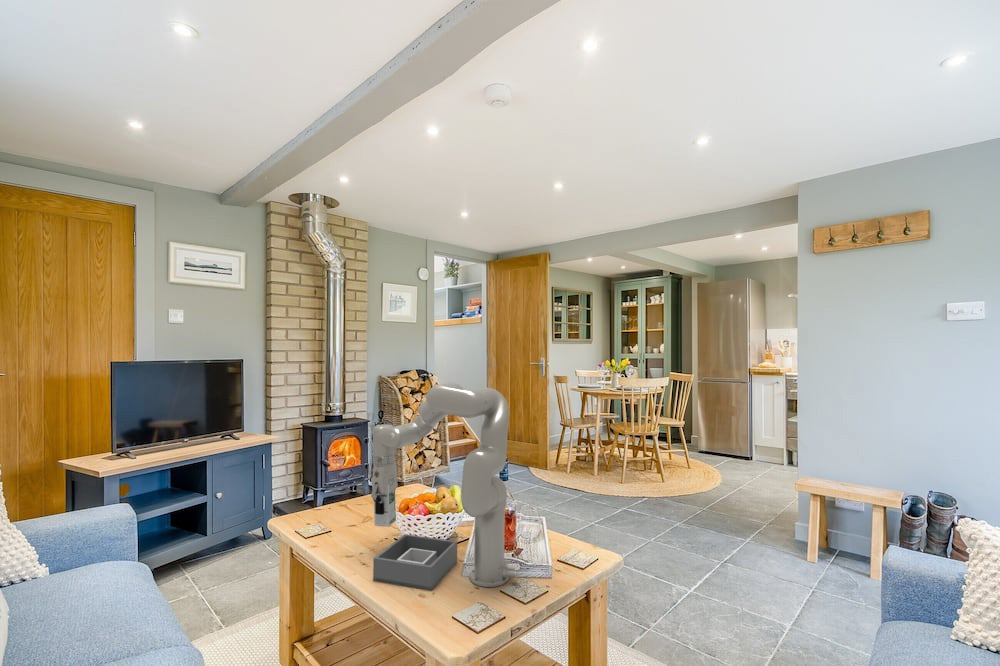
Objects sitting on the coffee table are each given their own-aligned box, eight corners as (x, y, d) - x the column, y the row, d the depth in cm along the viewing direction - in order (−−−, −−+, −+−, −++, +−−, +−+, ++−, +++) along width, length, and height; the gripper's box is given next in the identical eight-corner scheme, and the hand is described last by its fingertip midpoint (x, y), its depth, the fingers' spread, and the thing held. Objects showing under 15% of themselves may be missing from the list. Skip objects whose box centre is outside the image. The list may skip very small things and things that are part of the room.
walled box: (457, 562, 166) (457, 541, 166) (431, 590, 147) (431, 567, 147) (404, 554, 172) (404, 534, 172) (373, 580, 153) (373, 558, 153)
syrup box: (389, 527, 170) (388, 484, 170) (373, 526, 171) (373, 484, 172) (396, 521, 176) (395, 480, 176) (380, 520, 177) (380, 480, 177)
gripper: (380, 466, 165) (381, 520, 164) (405, 455, 181) (406, 504, 181) (360, 465, 167) (361, 518, 166) (387, 454, 183) (388, 502, 183)
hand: (384, 510), depth 173 cm, fingers closed on syrup box, 6 cm apart
